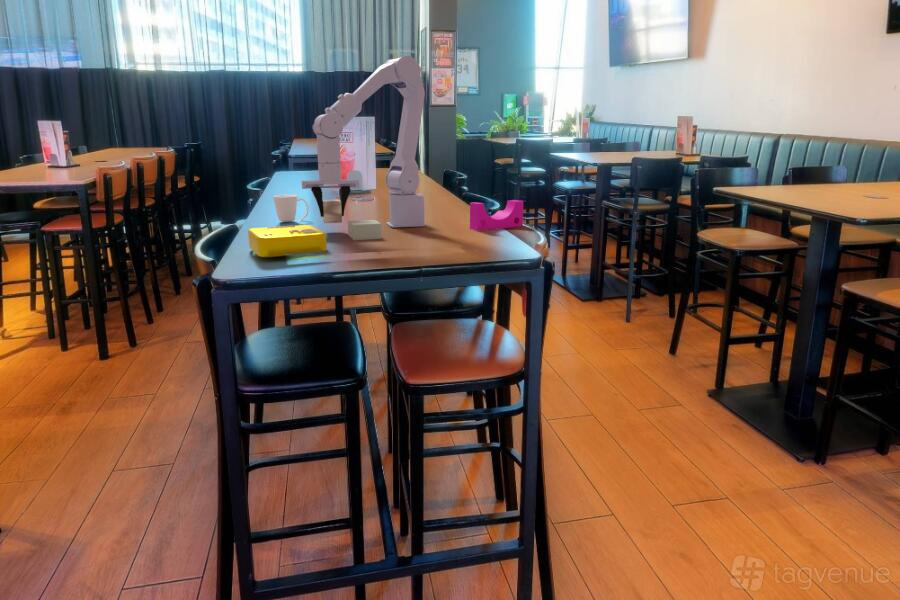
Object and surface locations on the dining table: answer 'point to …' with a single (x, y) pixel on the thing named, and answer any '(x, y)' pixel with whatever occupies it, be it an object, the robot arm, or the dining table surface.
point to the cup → (287, 207)
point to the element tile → (286, 240)
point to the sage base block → (364, 229)
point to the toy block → (496, 216)
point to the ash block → (332, 211)
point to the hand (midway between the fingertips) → (332, 216)
